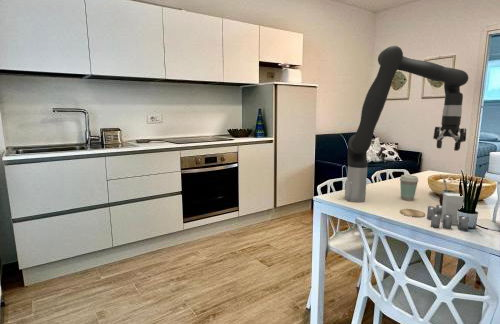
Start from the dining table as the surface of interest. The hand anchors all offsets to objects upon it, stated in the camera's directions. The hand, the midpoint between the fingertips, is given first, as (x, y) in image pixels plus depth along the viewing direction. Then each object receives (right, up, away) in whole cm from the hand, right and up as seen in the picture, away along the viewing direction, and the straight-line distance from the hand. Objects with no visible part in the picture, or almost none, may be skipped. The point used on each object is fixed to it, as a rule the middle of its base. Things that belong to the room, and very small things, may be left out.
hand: (447, 149), depth 149 cm
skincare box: (-13, -31, -23) cm, 41 cm away
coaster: (-23, -29, -11) cm, 38 cm away
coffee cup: (-14, -25, +11) cm, 31 cm away
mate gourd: (-2, -28, -2) cm, 28 cm away
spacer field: (-13, -31, -23) cm, 41 cm away
